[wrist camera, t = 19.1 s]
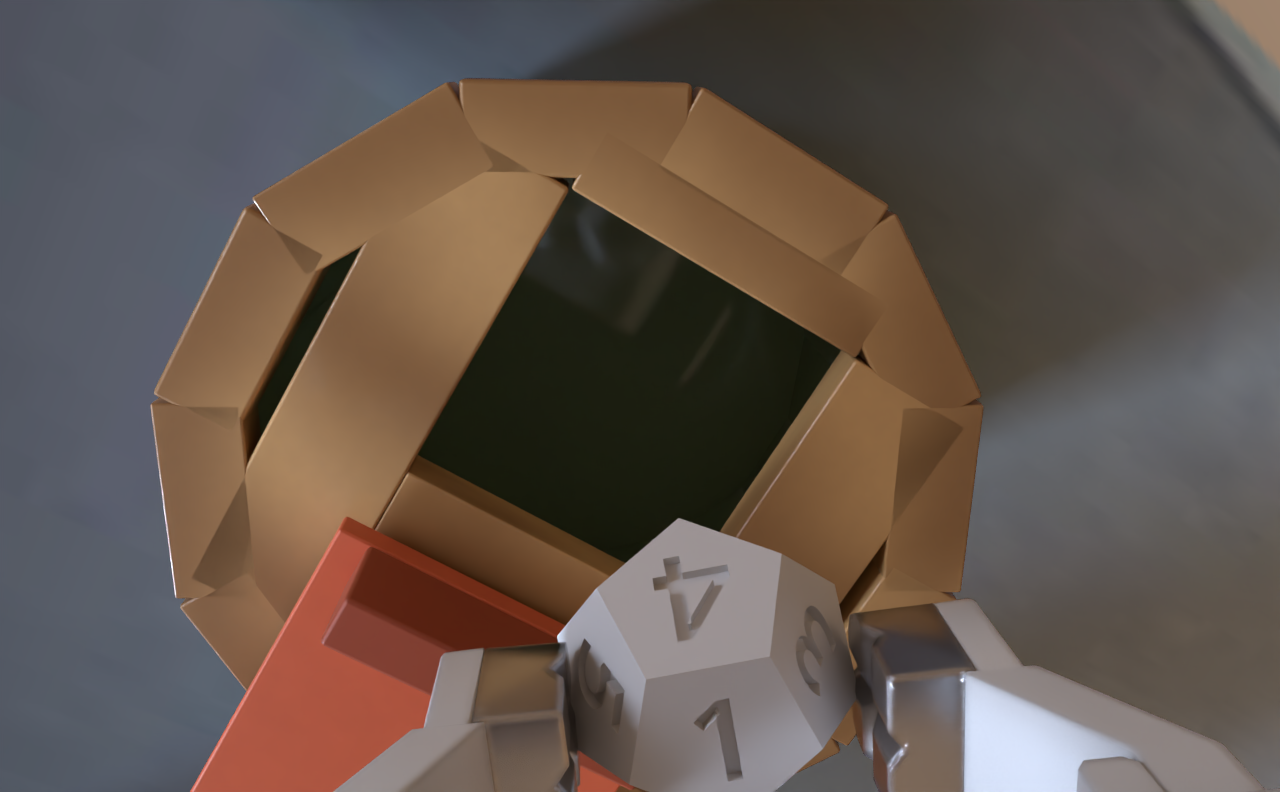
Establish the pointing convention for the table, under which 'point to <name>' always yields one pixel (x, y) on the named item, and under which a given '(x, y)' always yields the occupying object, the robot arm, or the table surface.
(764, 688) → the game die
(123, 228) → the table surface
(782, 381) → the green round box
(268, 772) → the slider
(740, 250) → the round tan lid
